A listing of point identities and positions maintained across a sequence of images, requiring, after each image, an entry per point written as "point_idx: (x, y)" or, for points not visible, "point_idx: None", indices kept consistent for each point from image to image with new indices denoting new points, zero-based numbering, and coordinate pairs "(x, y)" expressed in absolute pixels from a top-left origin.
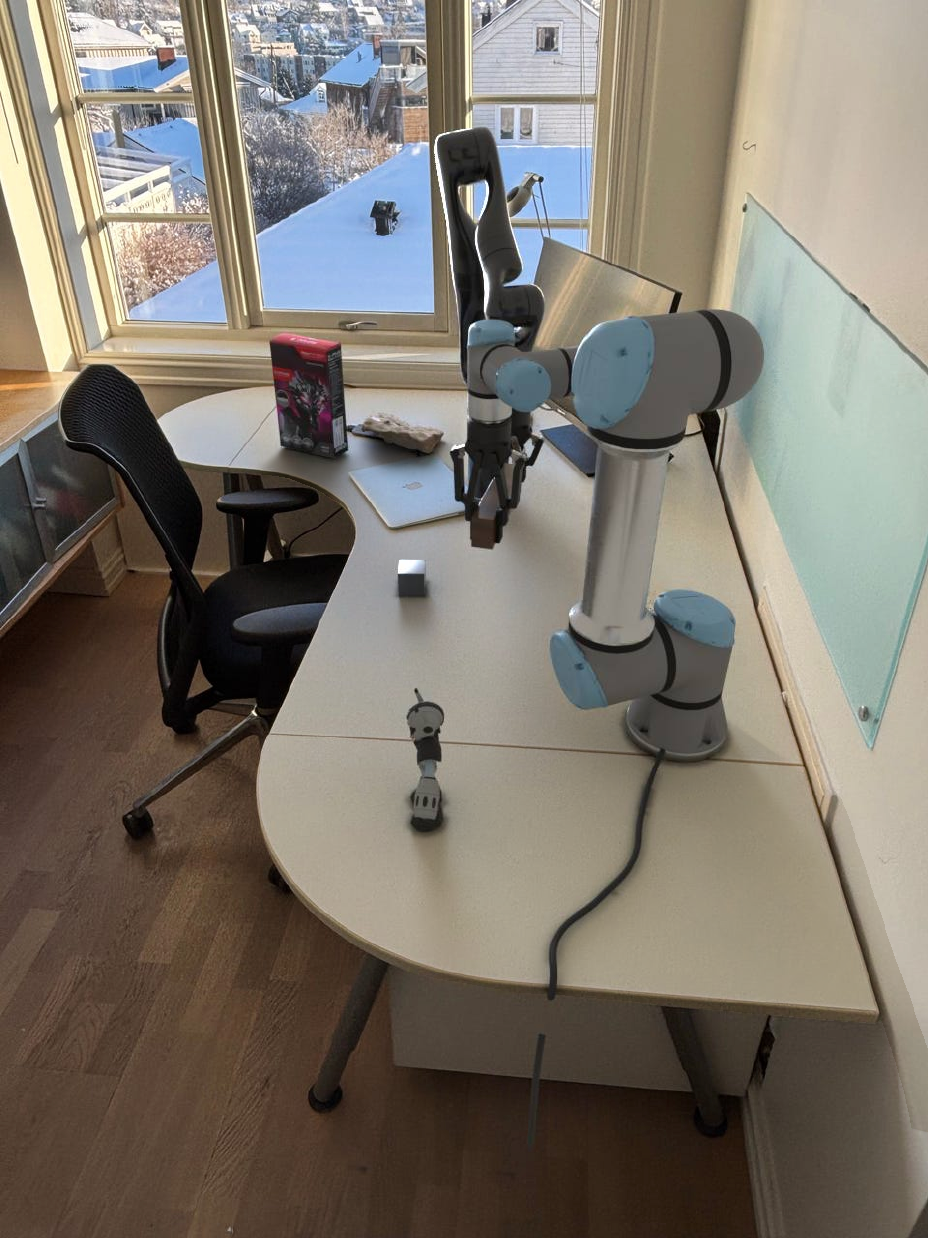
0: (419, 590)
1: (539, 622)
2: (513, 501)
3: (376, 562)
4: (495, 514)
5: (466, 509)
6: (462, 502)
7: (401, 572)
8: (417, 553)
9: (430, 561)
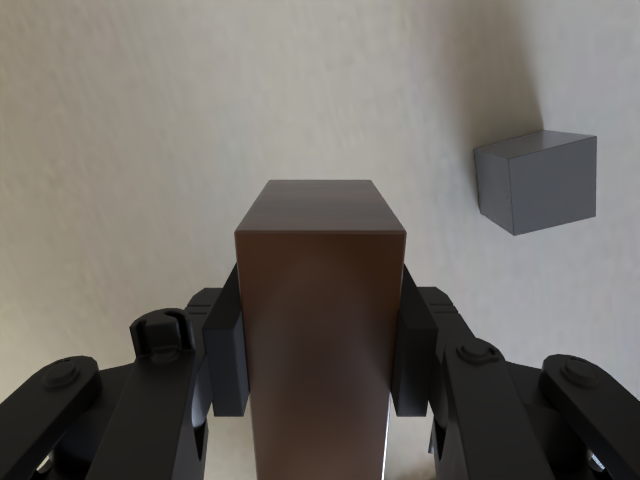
0: (495, 147)
1: (150, 108)
2: (34, 411)
3: (616, 267)
4: (246, 312)
5: (460, 330)
6: (514, 363)
7: (584, 145)
8: (518, 327)
9: (482, 303)
